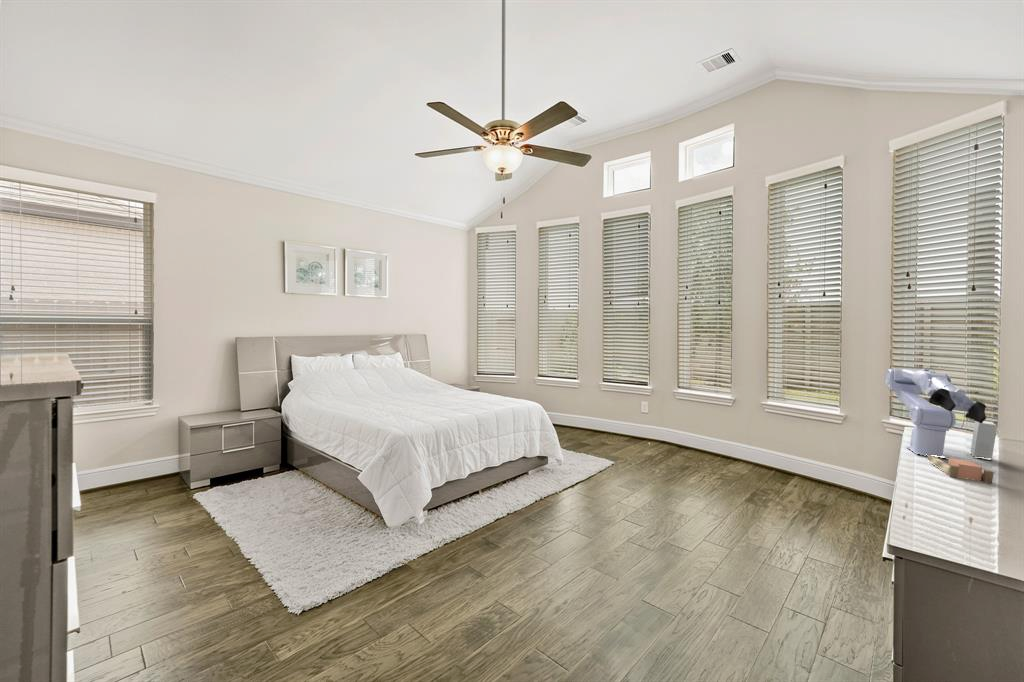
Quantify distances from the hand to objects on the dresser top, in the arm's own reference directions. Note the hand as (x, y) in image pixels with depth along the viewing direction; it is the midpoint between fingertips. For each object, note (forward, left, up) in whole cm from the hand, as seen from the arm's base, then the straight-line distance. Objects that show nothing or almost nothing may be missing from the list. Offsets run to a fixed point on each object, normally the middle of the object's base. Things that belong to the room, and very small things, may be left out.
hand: (967, 414), depth 127 cm
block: (+1, +1, -18) cm, 18 cm away
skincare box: (-27, +16, -18) cm, 36 cm away
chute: (-3, +1, -18) cm, 18 cm away
